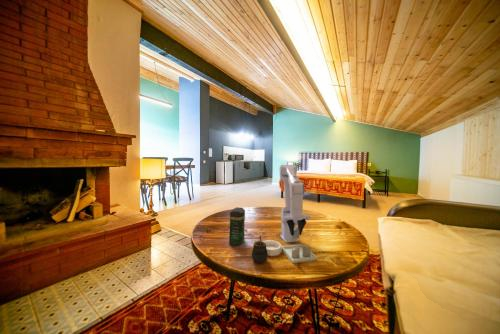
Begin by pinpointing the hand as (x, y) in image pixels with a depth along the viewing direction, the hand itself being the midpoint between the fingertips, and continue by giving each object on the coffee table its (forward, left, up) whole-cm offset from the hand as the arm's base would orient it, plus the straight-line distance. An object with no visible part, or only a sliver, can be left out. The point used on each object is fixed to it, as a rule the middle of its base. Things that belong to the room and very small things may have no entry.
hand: (295, 234), depth 92 cm
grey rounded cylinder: (0, 0, -1) cm, 1 cm away
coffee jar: (-17, -26, -9) cm, 33 cm away
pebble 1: (+6, -3, -8) cm, 10 cm away
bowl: (-4, -11, -9) cm, 15 cm away
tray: (+3, 0, -9) cm, 9 cm away
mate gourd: (+4, -20, -9) cm, 22 cm away
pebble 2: (+6, +3, -8) cm, 10 cm away
